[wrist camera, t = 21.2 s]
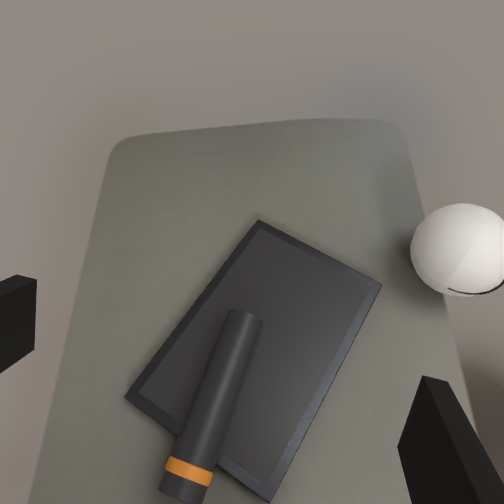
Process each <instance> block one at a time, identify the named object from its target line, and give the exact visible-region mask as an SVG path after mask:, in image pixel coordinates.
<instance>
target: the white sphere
mask: <svg viewBox="0 0 504 504" xmlns="http://www.w3.org/2000/svg"><path fill="white" fill-rule="evenodd" d="M410 253H411V260H412V263H413V266H414V268H415V270H416V273H417V274H418V276H419V277H420V278H421V279H422V280H423V282H424V283H425V284H427V285H428V286H430V287H431V288H432V289H434V290H436V291H438V292H440V293H443V294H445V295H452V296H459V297H471V296H476V295H480V294H486V293H489V292H492V291H494V290H496V289H498V288H499V287H501V286H502V285H503V284H504V221H503V220H502V219H501V218H500V217H499V216H498V215H497V214H495V213H494V212H492V211H491V210H488V209H486V208H483V207H480V206H478V205H475V204H465V203H460V204H453V205H448V206H445V207H442V208H440V209H438V210H436V211H434V212H432V213H430V214H429V215H428V216H427V217H426V218H425V219H424V220H423V221H422V222H421V223H420V224H419V225H418V226H417V228H416V230H415V233H414V236H413V239H412V242H411V245H410Z"/></svg>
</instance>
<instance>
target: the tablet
mask: <svg viewBox="0 0 504 504" xmlns="http://www.w3.org/2000/svg"><path fill="white" fill-rule="evenodd" d="M381 287H382V284H381V283H379V282H377V281H375V280H373V279H371V278H369V277H367V276H365V275H364V274H362V273H360V272H358V271H356V270H354V269H352V268H350V267H348V266H346V265H345V264H343V263H341V262H339V261H337V260H335V259H333V258H331V257H329V256H327V255H325V254H324V253H322V252H320V251H318V250H316V249H314V248H312V247H310V246H308V245H306V244H305V243H303V242H301V241H299V240H297V239H295V238H293V237H291V236H289V235H287V234H286V233H284V232H282V231H280V230H278V229H276V228H274V227H272V226H270V225H268V224H267V223H265V222H263V221H261V220H259V219H258V220H257V221H256V223H255V224H254V225H253V227H252V228H251V229H250V231H249V232H248V233H247V235H246V236H245V237H244V239H243V240H242V241H241V243H240V244H239V245H238V246H237V248H236V249H235V250H234V252H233V253H232V254H231V256H230V257H229V258H228V260H227V261H226V262H225V264H224V265H223V266H222V268H221V269H220V270H219V272H218V273H217V274H216V276H215V277H214V278H213V280H212V281H211V282H210V284H209V285H208V286H207V288H206V289H205V290H204V292H203V293H202V294H201V296H200V297H199V298H198V299H197V301H196V302H195V303H194V305H193V306H192V307H191V309H190V310H189V311H188V313H187V314H186V315H185V317H184V318H183V319H182V321H181V322H180V323H179V325H178V326H177V327H176V329H175V330H174V331H173V333H172V334H171V335H170V337H169V338H168V339H167V341H166V342H165V343H164V345H163V346H162V347H161V348H160V350H159V351H158V352H157V354H156V355H155V356H154V358H153V359H152V360H151V362H150V363H149V364H148V366H147V367H146V368H145V370H144V371H143V372H142V374H141V375H140V376H139V378H138V379H137V380H136V382H135V383H134V384H133V386H132V387H131V388H130V390H129V391H128V392H127V394H126V395H125V396H124V397H125V398H126V399H127V400H129V401H130V402H131V403H133V404H134V405H135V406H137V407H138V408H139V409H141V410H142V411H144V412H145V413H146V414H148V415H149V416H150V417H152V418H153V419H154V420H156V421H157V422H159V423H160V424H161V425H163V426H164V427H165V428H167V429H168V430H169V431H171V432H172V433H174V434H175V435H176V436H179V434H180V431H181V429H182V426H183V424H184V421H185V419H186V416H187V414H188V411H189V409H190V406H191V404H192V401H193V399H194V396H195V394H196V391H197V389H198V386H199V384H200V381H201V378H202V376H203V373H204V371H205V368H206V366H207V363H208V361H209V358H210V356H211V353H212V351H213V348H214V346H215V343H216V341H217V338H218V336H219V333H220V331H221V328H222V326H223V323H224V321H225V318H226V316H227V313H228V311H229V310H231V309H238V310H243V311H246V312H249V313H251V314H254V315H255V316H257V317H258V318H260V319H261V320H262V321H263V323H264V325H263V328H262V331H261V334H260V337H259V340H258V343H257V346H256V349H255V351H254V354H253V357H252V360H251V363H250V366H249V369H248V372H247V375H246V378H245V380H244V383H243V386H242V389H241V392H240V395H239V398H238V401H237V404H236V407H235V409H234V412H233V415H232V418H231V421H230V424H229V427H228V430H227V433H226V436H225V438H224V441H223V444H222V447H221V450H220V453H219V456H218V459H217V462H216V465H217V466H219V467H220V468H221V469H223V470H224V471H225V472H227V473H228V474H230V475H231V476H232V477H234V478H235V479H236V480H238V481H239V482H240V483H242V484H243V485H245V486H246V487H247V488H249V489H250V490H251V491H253V492H254V493H256V494H257V495H258V496H260V497H261V498H262V499H264V500H265V501H266V502H268V503H270V502H271V500H272V498H273V497H274V495H275V493H276V491H277V489H278V487H279V485H280V483H281V481H282V479H283V477H284V475H285V473H286V471H287V469H288V467H289V465H290V463H291V462H292V460H293V458H294V456H295V454H296V452H297V450H298V448H299V446H300V444H301V442H302V440H303V438H304V436H305V434H306V432H307V430H308V429H309V427H310V425H311V423H312V421H313V419H314V417H315V415H316V413H317V411H318V409H319V407H320V405H321V403H322V401H323V399H324V397H325V395H326V394H327V392H328V390H329V388H330V386H331V384H332V382H333V380H334V378H335V376H336V374H337V372H338V370H339V368H340V366H341V364H342V362H343V360H344V359H345V357H346V355H347V353H348V351H349V349H350V347H351V345H352V343H353V341H354V339H355V337H356V335H357V333H358V331H359V329H360V327H361V326H362V324H363V322H364V320H365V318H366V316H367V314H368V312H369V310H370V308H371V306H372V304H373V302H374V300H375V298H376V296H377V294H378V292H379V291H380V289H381Z"/></svg>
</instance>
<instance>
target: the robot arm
mask: <svg viewBox="0 0 504 504" xmlns="http://www.w3.org/2000/svg"><path fill="white" fill-rule="evenodd" d="M36 290H37V280H36V279H33V278H29V277H24V276H20V275H15V276H12V277H10V278H7V279H5V280H3V281H0V373H2V372H3V371H4V370H6V369H7V368H9V367H10V366H12V365H13V364H14V363H16V362H17V361H19V360H20V359H21V358H23V357H24V356H26V355H27V354H28V353H30V352H31V351H33V350H34V342H35V317H36ZM397 448H398V452H399V456H400V460H401V464H402V467H403V471H404V475H405V479H406V483H407V487H408V491H409V495H410V498H411V502H412V504H504V485H503V483H502V481H501V479H500V477H499V475H498V474H497V472H496V470H495V468H494V466H493V464H492V462H491V461H490V459H489V457H488V455H487V453H486V451H485V449H484V448H483V446H482V444H481V442H480V440H479V438H478V437H477V435H476V433H475V431H474V429H473V427H472V426H471V424H470V422H469V420H468V418H467V416H466V415H465V413H464V411H463V409H462V407H461V405H460V403H459V402H458V400H457V398H456V396H455V394H454V392H453V391H452V389H451V387H450V385H449V383H448V382H447V381H443V380H439V379H435V378H431V377H427V376H423V375H422V378H421V381H420V384H419V386H418V389H417V392H416V395H415V398H414V401H413V404H412V406H411V409H410V412H409V415H408V418H407V421H406V424H405V426H404V429H403V432H402V435H401V438H400V441H399V443H398V446H397Z"/></svg>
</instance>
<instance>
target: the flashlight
mask: <svg viewBox="0 0 504 504" xmlns="http://www.w3.org/2000/svg"><path fill="white" fill-rule="evenodd" d="M263 325H264V323H263V321H262V320H261V319H260V318H258V317H257V316H255V315H254V314H251V313H249V312H246V311H243V310H238V309H231V310H229V311H228V313H227V316H226V318H225V321H224V323H223V326H222V328H221V331H220V333H219V336H218V338H217V341H216V343H215V346H214V348H213V351H212V353H211V356H210V358H209V361H208V363H207V366H206V368H205V371H204V373H203V376H202V378H201V381H200V384H199V386H198V389H197V391H196V394H195V396H194V399H193V401H192V404H191V406H190V409H189V411H188V414H187V416H186V419H185V421H184V424H183V426H182V429H181V431H180V434H179V436H178V439H177V441H176V444H175V446H174V449H173V451H172V454H171V456H170V457H169V459H168V462H167V464H166V467H165V471H164V474H163V477H162V479H161V482H160V484H159V487H158V490H159V491H161V492H162V493H164V494H166V495H168V496H170V497H173V498H175V499H178V500H180V501H183V502H185V503H188V504H202V502H203V499H204V496H205V494H206V491H207V488H208V486H209V484H210V482H211V479H212V476H213V470H214V467H215V465H216V462H217V459H218V456H219V453H220V450H221V447H222V444H223V441H224V438H225V436H226V433H227V430H228V427H229V424H230V421H231V418H232V415H233V412H234V409H235V407H236V404H237V401H238V398H239V395H240V392H241V389H242V386H243V383H244V380H245V378H246V375H247V372H248V369H249V366H250V363H251V360H252V357H253V354H254V351H255V349H256V346H257V343H258V340H259V337H260V334H261V331H262V328H263Z"/></svg>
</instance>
